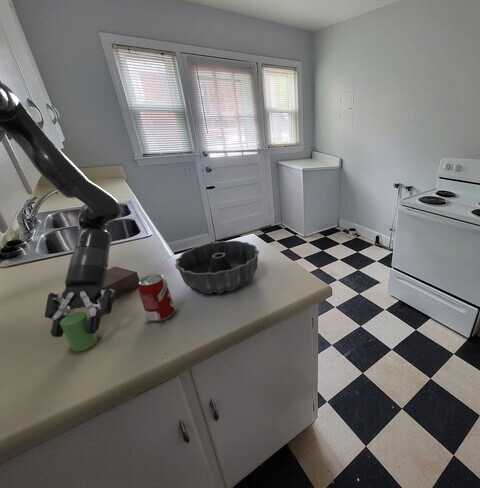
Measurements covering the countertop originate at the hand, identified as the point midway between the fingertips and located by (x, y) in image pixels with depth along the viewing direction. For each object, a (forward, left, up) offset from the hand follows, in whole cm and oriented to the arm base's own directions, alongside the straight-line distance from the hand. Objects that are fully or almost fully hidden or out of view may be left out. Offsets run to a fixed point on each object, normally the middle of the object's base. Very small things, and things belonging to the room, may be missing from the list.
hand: (74, 334), depth 64 cm
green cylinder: (+1, +1, -4) cm, 5 cm away
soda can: (+16, -7, -5) cm, 18 cm away
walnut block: (+20, +20, -4) cm, 29 cm away
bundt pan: (+38, -10, -5) cm, 40 cm away
